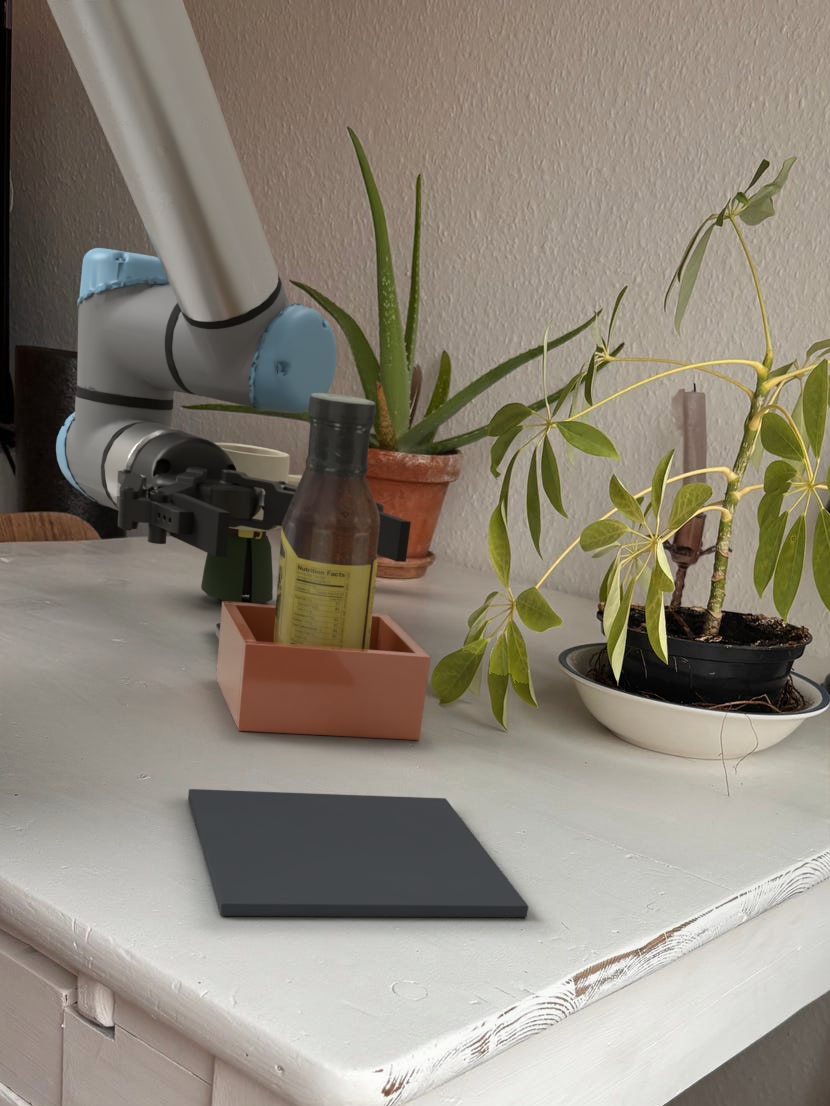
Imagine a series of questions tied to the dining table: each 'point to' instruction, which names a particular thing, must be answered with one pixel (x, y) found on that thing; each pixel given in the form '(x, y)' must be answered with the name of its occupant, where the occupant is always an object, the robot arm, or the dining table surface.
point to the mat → (346, 857)
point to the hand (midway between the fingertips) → (318, 538)
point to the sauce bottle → (330, 533)
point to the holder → (320, 679)
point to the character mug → (247, 534)
